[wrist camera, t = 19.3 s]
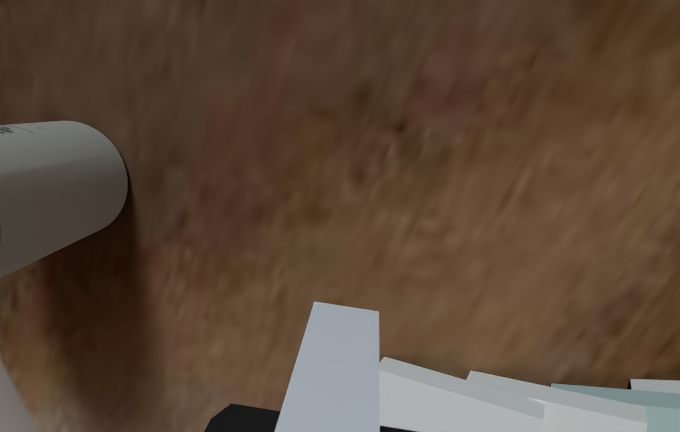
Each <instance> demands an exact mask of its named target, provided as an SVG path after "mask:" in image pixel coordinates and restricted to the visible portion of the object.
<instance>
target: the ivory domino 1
mask: <svg viewBox="0 0 680 432" xmlns="http://www.w3.org/2000/svg"><path fill="white" fill-rule="evenodd" d="M379 398H380V426H386V427H393V428H399V429H405V430H411V431H417V432H541V428H542V423H543V418H544V407H545V403H543V402H539V401H536V400H532V399H529V398H526V397H522V396H519V395H515V394H512V393H508V392H505V391H501V390H498V389H495V388H491V387H488V386H484V385H481V384H477V383H474V382H470V381H467V380H464V379H460V378H457V377H453V376H450V375H446V374H443V373H439V372H436V371H432V370H429V369H426V368H422V367H419V366H415V365H412V364H408V363H405V362H401V361H398V360H395V359H391V358H388V357H384V358H383V359H382V361H381V362H380V363H379Z"/></svg>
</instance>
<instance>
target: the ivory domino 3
mask: <svg viewBox="0 0 680 432" xmlns="http://www.w3.org/2000/svg"><path fill="white" fill-rule="evenodd" d="M630 381H631V390H640V391H653V392H666V393H678V394H680V381H674V380H646V379H630Z"/></svg>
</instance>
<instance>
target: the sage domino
mask: <svg viewBox="0 0 680 432" xmlns="http://www.w3.org/2000/svg"><path fill="white" fill-rule="evenodd" d="M551 387H553V388H557V389H562V390H567V391H572V392H577V393H581V394H586V395H591V396H596V397H601V398H605V399H610V400H615V401H620V402H625V403H629V404H634V405H639V406H644V407H645V412H646V418H647V430H646V432H680V394H678V393H666V392H653V391H640V390H628V389H615V388H603V387H590V386H578V385H565V384H553V383H551Z"/></svg>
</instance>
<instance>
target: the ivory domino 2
mask: <svg viewBox="0 0 680 432" xmlns="http://www.w3.org/2000/svg"><path fill="white" fill-rule="evenodd" d="M466 380H467V381H470V382H474V383H477V384H481V385H484V386H488V387H491V388H495V389H498V390H501V391H505V392H508V393H512V394H515V395H519V396H522V397H526V398H529V399H532V400H536V401H539V402H543V403H545V407H544V418H543V423H542V428H541V432H646V430H647V418H646V412H645V407H644V406H639V405H634V404H629V403H625V402H620V401H615V400H610V399H605V398H601V397H596V396H591V395H586V394H581V393H577V392H572V391H567V390H562V389H557V388H553V387H548V386H543V385H538V384H533V383H529V382H524V381H519V380H514V379H510V378H505V377H500V376H495V375H490V374H486V373H481V372H476V371H470V373H469V375H468V377H467V379H466Z"/></svg>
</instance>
